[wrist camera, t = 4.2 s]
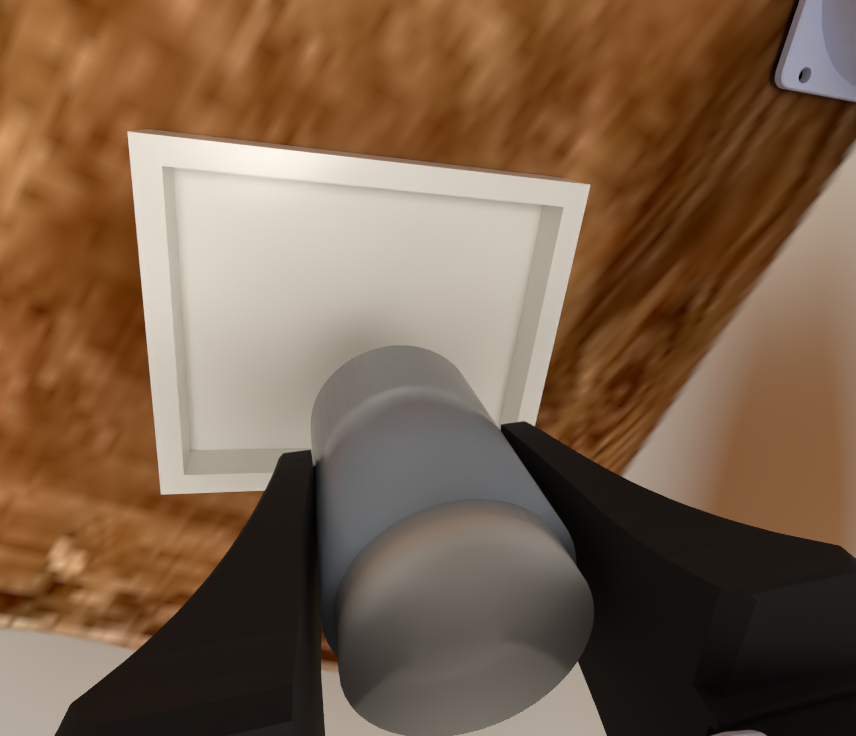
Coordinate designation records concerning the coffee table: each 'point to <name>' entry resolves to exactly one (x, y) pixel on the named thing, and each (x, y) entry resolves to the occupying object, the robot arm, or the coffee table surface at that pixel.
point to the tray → (331, 287)
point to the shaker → (436, 552)
